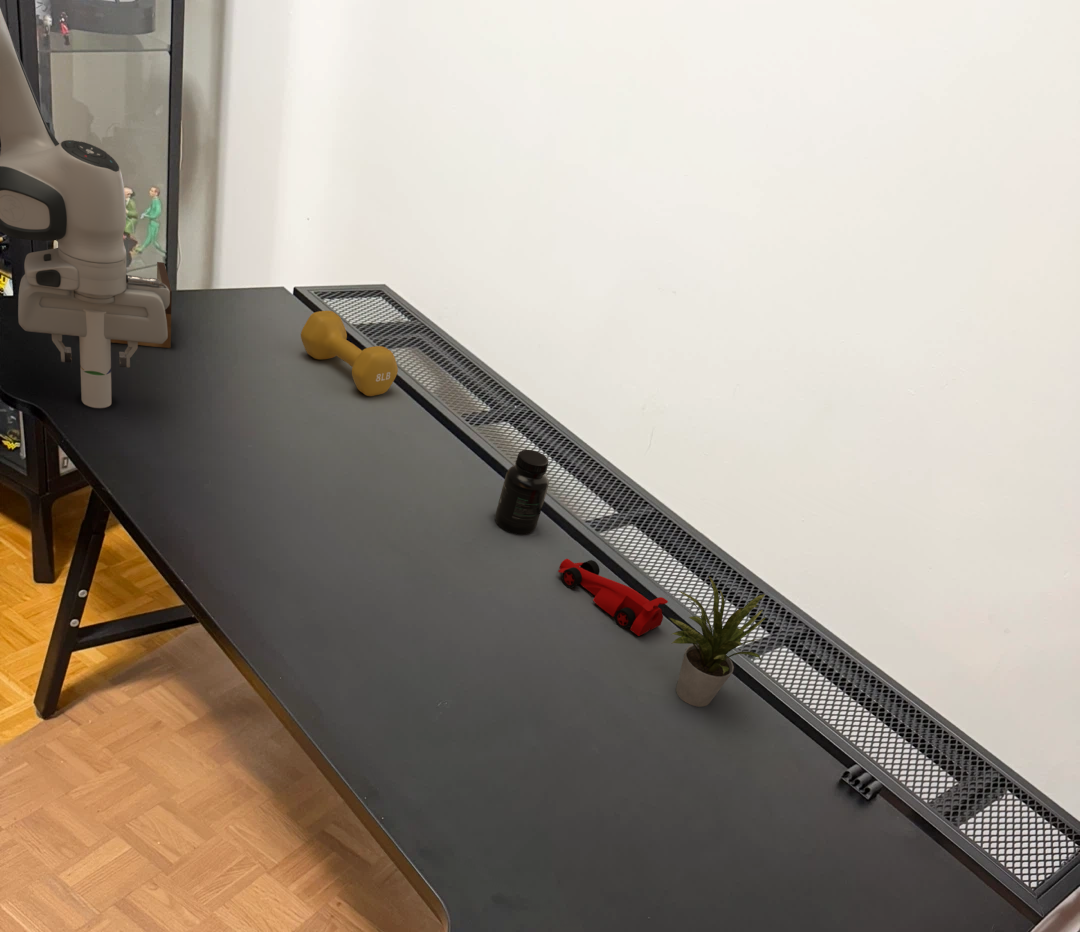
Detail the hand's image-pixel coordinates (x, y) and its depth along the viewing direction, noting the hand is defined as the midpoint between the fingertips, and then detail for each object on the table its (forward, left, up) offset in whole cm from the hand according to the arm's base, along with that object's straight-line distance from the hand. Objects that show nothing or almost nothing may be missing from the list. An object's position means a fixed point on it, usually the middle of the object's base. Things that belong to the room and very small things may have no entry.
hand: (95, 363), depth 154 cm
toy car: (+67, -51, -6) cm, 85 cm away
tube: (0, 0, -6) cm, 6 cm away
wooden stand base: (+6, +27, -6) cm, 28 cm away
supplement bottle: (+60, -31, -6) cm, 68 cm away
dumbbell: (+43, +17, -6) cm, 47 cm away
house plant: (+73, -71, -6) cm, 102 cm away
